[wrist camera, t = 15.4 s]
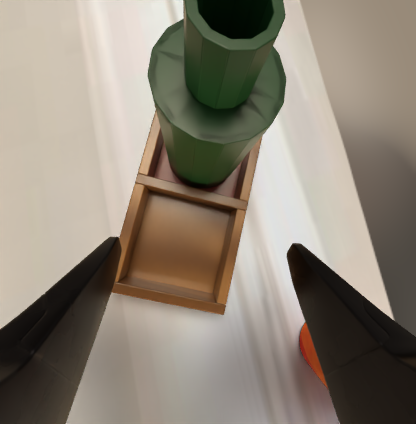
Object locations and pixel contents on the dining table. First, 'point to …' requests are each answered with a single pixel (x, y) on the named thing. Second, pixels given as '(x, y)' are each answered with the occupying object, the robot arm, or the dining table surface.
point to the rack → (182, 232)
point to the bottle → (217, 85)
